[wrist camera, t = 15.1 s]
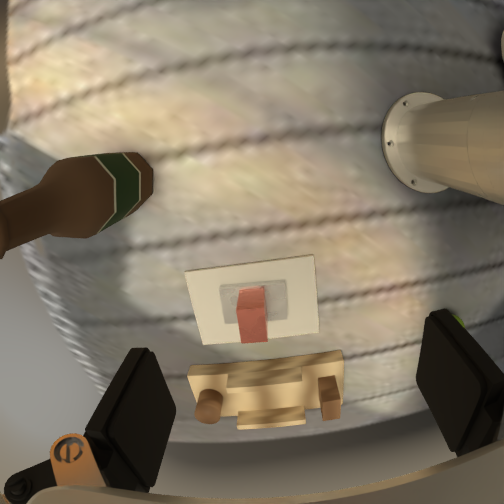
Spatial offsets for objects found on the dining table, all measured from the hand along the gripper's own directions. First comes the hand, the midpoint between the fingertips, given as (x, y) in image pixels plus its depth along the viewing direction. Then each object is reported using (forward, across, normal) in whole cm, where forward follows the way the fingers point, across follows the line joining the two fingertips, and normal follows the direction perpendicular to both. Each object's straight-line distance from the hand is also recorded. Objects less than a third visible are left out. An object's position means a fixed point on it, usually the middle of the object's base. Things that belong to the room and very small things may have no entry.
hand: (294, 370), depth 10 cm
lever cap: (+28, +4, +11) cm, 30 cm away
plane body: (+28, +4, +26) cm, 39 cm away
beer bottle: (+28, +17, -6) cm, 34 cm away
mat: (+28, +4, +12) cm, 31 cm away
